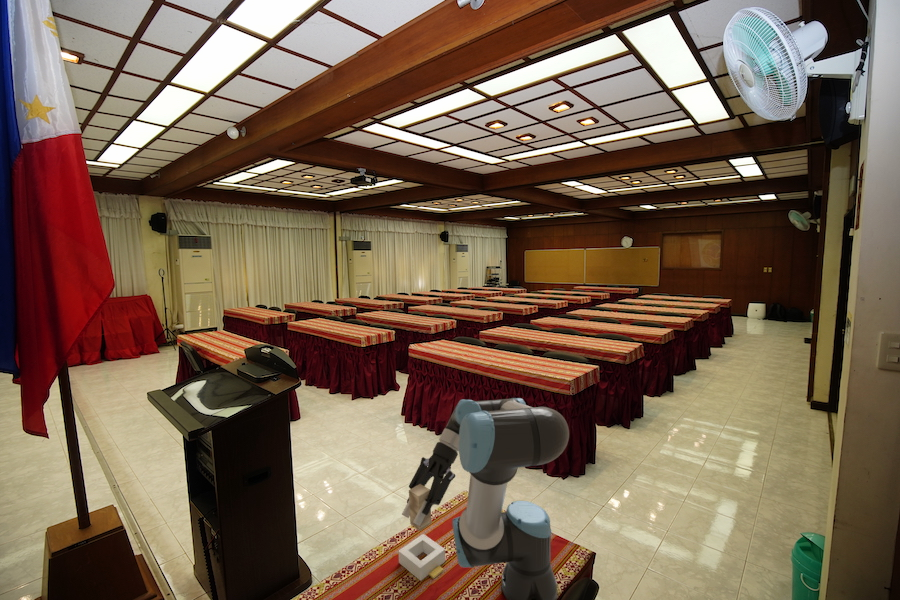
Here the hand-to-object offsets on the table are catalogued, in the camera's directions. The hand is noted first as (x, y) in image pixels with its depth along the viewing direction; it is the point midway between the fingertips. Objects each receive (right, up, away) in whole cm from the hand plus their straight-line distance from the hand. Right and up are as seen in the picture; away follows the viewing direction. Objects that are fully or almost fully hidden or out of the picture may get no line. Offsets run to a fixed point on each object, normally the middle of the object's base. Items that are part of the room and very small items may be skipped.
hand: (410, 520), depth 118 cm
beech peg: (+3, -3, +3) cm, 5 cm away
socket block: (+4, -15, +3) cm, 16 cm away
